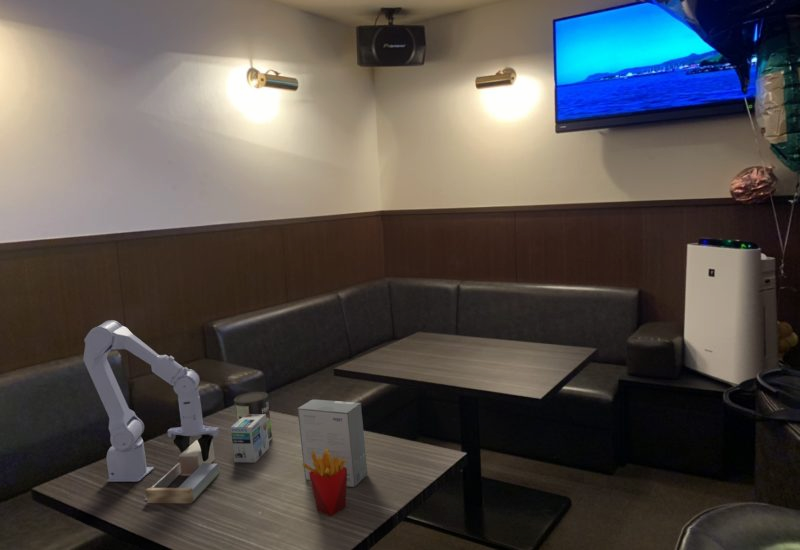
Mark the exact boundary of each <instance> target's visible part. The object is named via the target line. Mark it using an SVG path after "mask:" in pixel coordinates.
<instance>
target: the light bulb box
mask: <svg viewBox="0 0 800 550" xmlns="http://www.w3.org/2000/svg"><path fill="white" fill-rule="evenodd" d="M230 431H231V432H230V433H231V441H232V451H233V458H234V463H249V464H250V463H252V464H253V463H254V464H255V463H257V462H258V460H260V459H261V457H263V455H264V454H265V453H266V452H267V451H268V450H269V449H270V441H269V439H268V430H267V421H266V414H245V415H244V416H243V417H242V418H241V419H240V420H239V421H238V422H237V421H236V422H235V423H234V424H233V425H232V426H230Z"/></svg>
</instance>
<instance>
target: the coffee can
mask: <svg viewBox="0 0 800 550" xmlns="http://www.w3.org/2000/svg"><path fill="white" fill-rule="evenodd" d="M233 402H234V408H235V414H236V415H235V416H236V422H238V421H239V420H240V419H241V418H242V417H243V416H244V415H245V414H266V421H267V430H268V439H269V442H270V441H271V440H272V439H273V435H272V434H273V433H272V425H271V416H270V404H269V395H268V393H267V392H266V391H265V392H264V391H251V392H245V393H242V394H239V395H237V396H236V397H234V399H233Z"/></svg>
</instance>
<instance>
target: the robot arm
mask: <svg viewBox="0 0 800 550" xmlns="http://www.w3.org/2000/svg"><path fill="white" fill-rule="evenodd" d="M83 341H84V352H83V362H84V364H85V366H86V369H87V372H88V374H89V376H90V378H91V380H92V382H93V386H94V387H95V389H96V391H97V393H98V396H99V398H100V401H101V402H102V405H103V407H104V409H105V411H106V413H107V416H108V418H109V419H108V420H109V421H108V431H109V433H110V441H109V442H110V444H111V446H110V447H109V449H108V450H107V453H106V465H107V472H108V479H107V482H109V483H111V482H115V483H117V482H118V483H119V482H120V483H121V482H122V483H123V482H124V483H126V482H127V483H128V482H133V483H134V482H136V483H137V482H140V481H141V480H142V479H143V478H145V477H146V476H147V475H148V474H150V472H152V471H153V470H154V469H155V468H154V466H147V459H146V458H147V457H146V452H145V445H144V444H145V443H144V440H143V438H142V435H143V433H144V432H145V431H144V430H145V424H144V422H143V421H142V419H140V418H139V417H138V415H136V413H135V411H134V410H132V409H130V408H129V405H128V403H127V401H126V399H125V397H124V395H123V392H122V390H121V388H120V385H119V383H118V381H117V379H116V376H115V374H114V372H113V369H112V367H111V365H110V363H109V360H108V359H107V358H108V355H109V354H110V352H111V351H112V350H126V351H128V352H130V353H131V354H133V355H134V356H135V357H138V358H139V359H140V360H142V361H143V362H145V363H146V364H149V366H150V367H151V372H152V373H154V374H155V375H156V376H158V377H160V378H161V379H162V380H163V381H165V382H166V383H168V384H169V385H170V386H173V391H174V393H175V394H176V395H177V397H178V398H177V399H178V400H177V402H178V408H179V417H180V427H170V428H169V429H168V430H167V437H168V438H172V437H174V439H173V444H174V445H175V446H176V447H177V448H178V449H179V451H180V454H181V453H182V452H184V451H185V450H186V449H187V448H188V447H189V446H190V445H191V444H190V441H191V440H190V438H191V437H193V436H194V437H195V436H196V437H199V438H198V439H197V440H198V443H199V445H200V448H201V452H202V458H203V461H206V460H207V459H208V458H209V449H210V445H211V442H212V441H213V438H214V437H218V436H219V434H220V430H219V429H220V428H219V427H218V426H217V427H216V426H209V425H205V424H204V422H203V412H202V404H201V396H200V391H199V387H198V386H199V383H200V381H201V380H200V375H199V374H198V373H197V372H196V371H195V369H194V370H193V369H189V368H188V367H187V366H185V367H183V366H182V364H179V363H178V361H176V360H175V357H173V356H172V355H170V356H169V355H167V354H158V353H157V352H156V351H155V350H154V349H152V348H151V347H150V346H149V345H147V344H146V343H145V342H143V341H142V340H141V339H140V338H139V337H137V336H136V335H135V334H133V333H132V332H131V331H130V330H129V328H128V327H126V326H124V325H122V324H121V323H120V322H118V321H117V320H113V319H111V320H106V321H104V322H102V324H100V325H98V326H95V327H94V328H93V327H92V329H91V330H90V331H88V333H87V334H86V336H85V337H84V340H83ZM200 436H201V437H200Z"/></svg>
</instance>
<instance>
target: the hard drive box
mask: <svg viewBox="0 0 800 550" xmlns="http://www.w3.org/2000/svg"><path fill="white" fill-rule="evenodd" d="M297 416H298V425H299V426H298V427H299V435H300V445H301V451H302V462H303V463H305V464H307V465H308V466H310V467H311V468H313V469H315V467H314V465H313V463H314V461H313V458H312V455H311V452H313V451H314V452H315V455H316V459H317V458H318V457H321V458H322V457H323V452H325V451H326V449H328V450H330V451H329V455H331V457H332V459H333V462H334V456H336V455H337V457H338V458H337V459H338V460H339V461H340V460H341V459H342V458H345V462H344V466H343V467H345V468H347V486H346V487H349V488H350V487H351V488H354V487H356V486H358V484H359V483H360V482H361V481H362V480H363V479H365V478H366V477H367V475H368V465H367V455H366V454H367V453H366V445H365V444H366V443H365V433H364V421H363V414H362V403H361V402H353V401H341V400H339V401H338V400H325V399H311V400H308V401H307V402H306V403H304V404H301V406H299V407H297ZM339 461H338V462H339ZM303 463H302V464H303ZM303 472H304V479H305V480H306V481H307V480H309V481H311V480H310V475H309V472H310V470H308V469H307V468H305V467H304V466H303Z"/></svg>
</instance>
